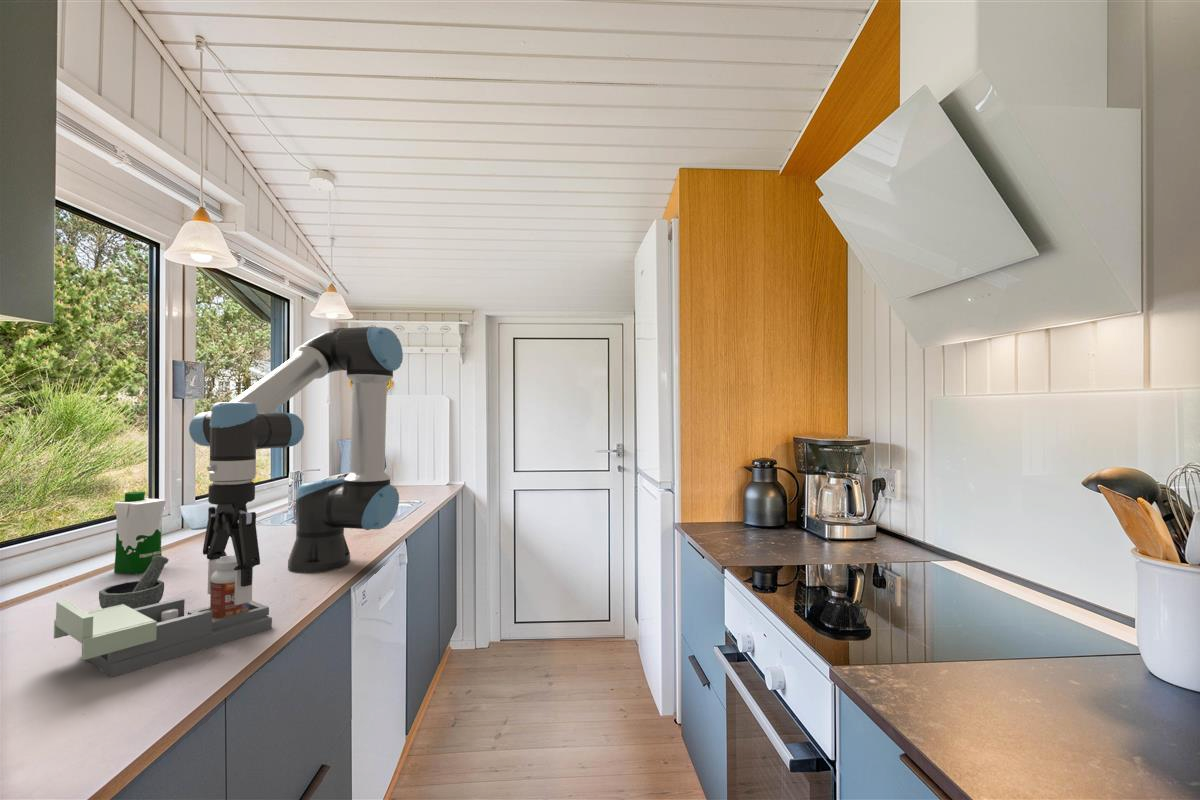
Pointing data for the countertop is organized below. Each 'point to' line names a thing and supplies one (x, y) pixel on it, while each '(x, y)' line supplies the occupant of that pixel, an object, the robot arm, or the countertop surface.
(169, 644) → the housing base
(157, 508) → the milk carton
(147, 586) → the mortar and pestle
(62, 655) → the countertop surface
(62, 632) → the cover
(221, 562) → the pill bottle
